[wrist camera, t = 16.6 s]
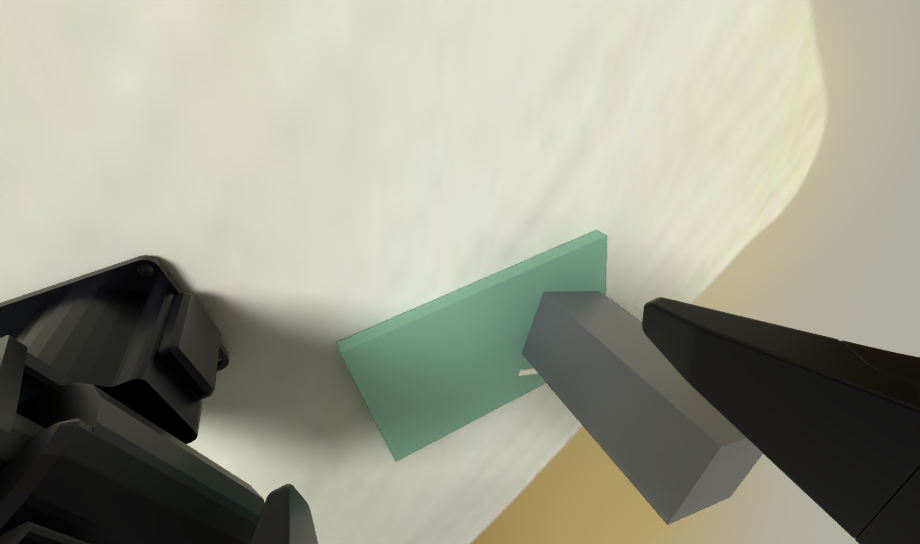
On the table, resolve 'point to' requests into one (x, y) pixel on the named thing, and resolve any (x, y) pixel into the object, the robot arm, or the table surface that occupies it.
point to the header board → (463, 347)
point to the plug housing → (636, 404)
